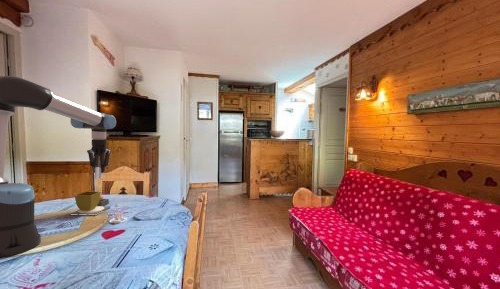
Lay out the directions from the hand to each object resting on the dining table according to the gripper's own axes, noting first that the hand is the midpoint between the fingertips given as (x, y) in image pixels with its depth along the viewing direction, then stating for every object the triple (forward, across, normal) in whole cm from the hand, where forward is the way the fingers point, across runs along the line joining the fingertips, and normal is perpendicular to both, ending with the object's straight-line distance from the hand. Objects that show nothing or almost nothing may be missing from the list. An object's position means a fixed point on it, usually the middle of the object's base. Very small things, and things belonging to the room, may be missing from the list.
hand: (99, 178), depth 140 cm
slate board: (+16, -3, +12) cm, 20 cm away
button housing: (+16, 0, 0) cm, 16 cm away
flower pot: (+16, -1, +12) cm, 19 cm away
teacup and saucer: (+17, -22, +26) cm, 39 cm away
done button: (+14, 0, 0) cm, 14 cm away
